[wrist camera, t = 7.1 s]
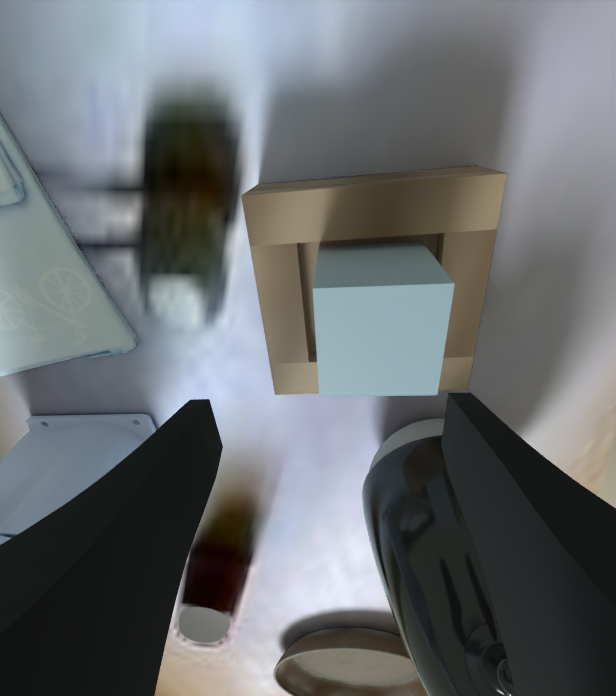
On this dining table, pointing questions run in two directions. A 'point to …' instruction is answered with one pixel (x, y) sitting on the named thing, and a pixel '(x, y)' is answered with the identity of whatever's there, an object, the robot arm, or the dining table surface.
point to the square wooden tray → (370, 228)
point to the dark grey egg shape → (432, 567)
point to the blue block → (380, 319)
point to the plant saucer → (348, 665)
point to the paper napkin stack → (46, 279)
